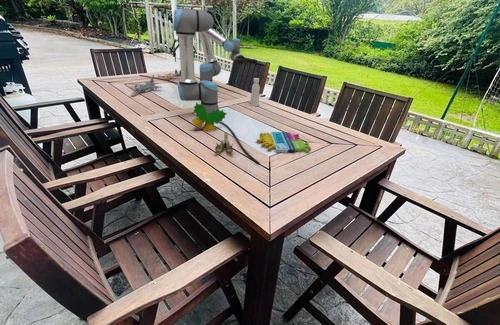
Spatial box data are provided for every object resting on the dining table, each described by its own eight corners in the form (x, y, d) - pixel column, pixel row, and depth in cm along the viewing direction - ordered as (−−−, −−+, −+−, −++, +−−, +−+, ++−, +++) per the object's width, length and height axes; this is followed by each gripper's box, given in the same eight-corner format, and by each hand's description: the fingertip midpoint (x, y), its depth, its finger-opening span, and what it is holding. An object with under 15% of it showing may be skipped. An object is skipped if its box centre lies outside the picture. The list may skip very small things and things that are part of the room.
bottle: (249, 104, 216) (250, 78, 206) (256, 103, 219) (258, 78, 208) (252, 106, 211) (254, 80, 201) (259, 105, 214) (262, 80, 203)
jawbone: (234, 135, 144) (233, 125, 135) (233, 160, 138) (232, 151, 129) (217, 135, 144) (216, 125, 135) (216, 160, 138) (214, 150, 129)
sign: (313, 150, 142) (258, 149, 139) (312, 153, 143) (258, 152, 140) (301, 132, 164) (254, 130, 161) (301, 134, 165) (254, 133, 162)
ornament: (218, 133, 171) (224, 110, 169) (221, 134, 163) (227, 111, 161) (186, 125, 162) (192, 101, 160) (189, 126, 155) (195, 101, 153)
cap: (252, 81, 206) (252, 78, 205) (257, 80, 208) (257, 78, 207) (254, 82, 203) (255, 79, 202) (260, 82, 205) (260, 79, 204)
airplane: (124, 86, 239) (122, 75, 233) (160, 84, 252) (158, 73, 247) (129, 98, 210) (126, 86, 205) (168, 95, 223) (167, 83, 218)
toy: (190, 70, 289) (177, 74, 263) (190, 77, 293) (178, 82, 267) (167, 67, 294) (152, 71, 268) (168, 74, 298) (153, 79, 272)
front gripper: (198, 33, 207) (199, 61, 218) (165, 31, 201) (168, 60, 211) (199, 33, 201) (200, 62, 211) (165, 32, 194) (168, 62, 205)
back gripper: (252, 63, 237) (262, 67, 220) (226, 63, 227) (234, 68, 210) (252, 54, 233) (263, 57, 216) (226, 54, 224) (235, 58, 207)
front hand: (184, 61), depth 211 cm, fingers open, 13 cm apart
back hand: (249, 62), depth 213 cm, fingers open, 13 cm apart
